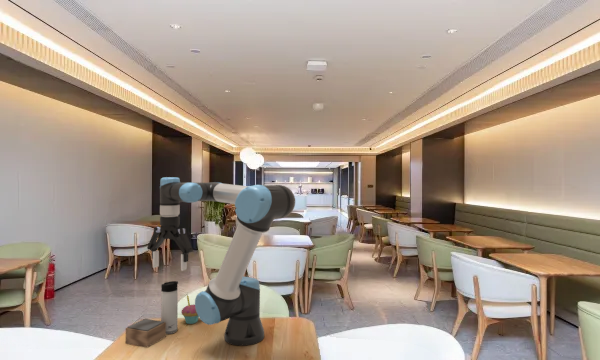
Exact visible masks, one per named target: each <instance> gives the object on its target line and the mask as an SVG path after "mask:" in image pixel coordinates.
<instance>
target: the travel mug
mask: <svg viewBox="0 0 600 360" xmlns="http://www.w3.org/2000/svg"><path fill="white" fill-rule="evenodd" d="M178 284H179V282H178V281H177V280H174V281H173V280H172V281H166V282H164V283H161V285H160V287H161V289H160V290H161V291H160V293H161V294H160V296H161V297H160V301H161V303H160V307H161V308H160V321H163V322H166V335H171V334H175V333H176V332H178V329H179V328H178V322H179V321H178V319H179V318H178V310H179V308H178V305H179V304H178V303H179V302H178V298H179V297H178V296H179V294H178Z"/></svg>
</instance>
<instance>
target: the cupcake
mask: <svg viewBox="0 0 600 360" xmlns="http://www.w3.org/2000/svg"><path fill="white" fill-rule="evenodd" d="M186 298H187V299H186V300H187V305H186V306H184V307H183V308H182V309H181V315H182V316H183V318H184V320H185V323H186V324H187V325H188V324H189V325H192V324H193V325H194V324H196V323H198V322H199V319H200V318H199V316H198V314H197V312H196V308H195V303H194V304H191V303H190V297H189V294H186Z"/></svg>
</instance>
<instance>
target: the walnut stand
mask: <svg viewBox="0 0 600 360" xmlns="http://www.w3.org/2000/svg"><path fill="white" fill-rule="evenodd" d="M166 335H167V334H166V322H163V321H161V320H157V319H149V318H144V319H141V320H138V321H137V322H134V323H133V324H131V325H129V326H127V327H125V344H127V345H133V346H137V347H144V348H149V347H151V346H152V345H154V344H156V343H158V342H160V341H161V340H163V339H165V338H166Z"/></svg>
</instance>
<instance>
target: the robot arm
mask: <svg viewBox="0 0 600 360" xmlns="http://www.w3.org/2000/svg"><path fill="white" fill-rule="evenodd" d="M180 180H181V179H180V177H170V176H169V177H167V176H166V177H162V178H160V181H159V182H160V184H159V185H160V186H159V204H160V205H159V215H160V217H159V225H160V226H155V227H153V232H152V235H151V237H150V240H149V243H148V244H147V248H146V249H147V250H150V251H151V259H152V268H153V269H156V268H159V267H160V250H158V249H159V248H160V247H161V245H162V244H163V243H164V242H165V240H173V241H174V243H175V244H176V245H177V246H178V248H179V249H180V251H181V254H180V271H181V272H183V271H186V270H188V269H187V267H188V266H187V265H188V263H187V262H189V254H190V253H192V252H194V249H193V247H192V243H191V242H190V240H189V239H190V238H189V236H188V234H187V228H186V227H184V228H180V222H181V221H180V220H181V216H180V214H181V213H180V211H181V210H180V209H181V208H180V206H181V205H180V203H182V202H183V203H189V204H190V203H197V202H216V203H217V202H219V203H225V204H232V205H234V207H235V214H236V221H237V223H238V224H237V227H236V229H235V232H234V234H233V237H232V238H231V241H230V243H229V245H228V248H227V251H226V253H225V255H224V258H223V260H222V263H221V264H220V267H219V270H218V272H217V274H216V277H213V278H211V279H210V280H209V282H208V285H207V287H206V289H205V290H204V291H203V290H202V291H200V292H199V293H197V295H196V296H195V299H194V305H195V308H196V312H197V314H198V316H199V318H198V319H199V320H200V321H201V322H203V323H204V324H206V325H210V326H211V325H215V324H219V323H221V322H223V321H226V320H228V321H227V325H226V328H225V331H224V341H225V342H226V343H227V344H230V345H234V346H251V345H255V344H258V343H260V342H261V341H263V340H264V338H265V329H264V326H263V322H262V320H261V317H260V313H261V312H260V311H261V309H260V308H261V304H260V303H261V301H260V300H261V297H260V296H261V287H260V286H261V285H260V280H259V279H257V278H255V277H252V276H245V273H246V271H247V270H248V269H247V268H248V266H249V264H250V262H251V260H252V258H253V255H254V253H255V251H256V249H257V246H258V244H259V242H260V239H261V238H262V235H263V234H265V233H268V232H269V230H270V228H271V226H272V224H273V222H274V220H279V219H280V220H281V219H285V218H287V217H288V216H290V214H292V212H293V210H294V209H295V206H296V198H295V194H294V193H293V191H292V190H291V189H290V188H289V187H287V186H285V185H281V184H274V185H273V184H272V185H271V184H268V185H262V184H254V185H249V186H248V185H239V184H231V183H230V184H229V183H222V182H219V181H217V182H216V181H214V182H189V181H188V182H181V181H180ZM160 233H161V234H160Z"/></svg>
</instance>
